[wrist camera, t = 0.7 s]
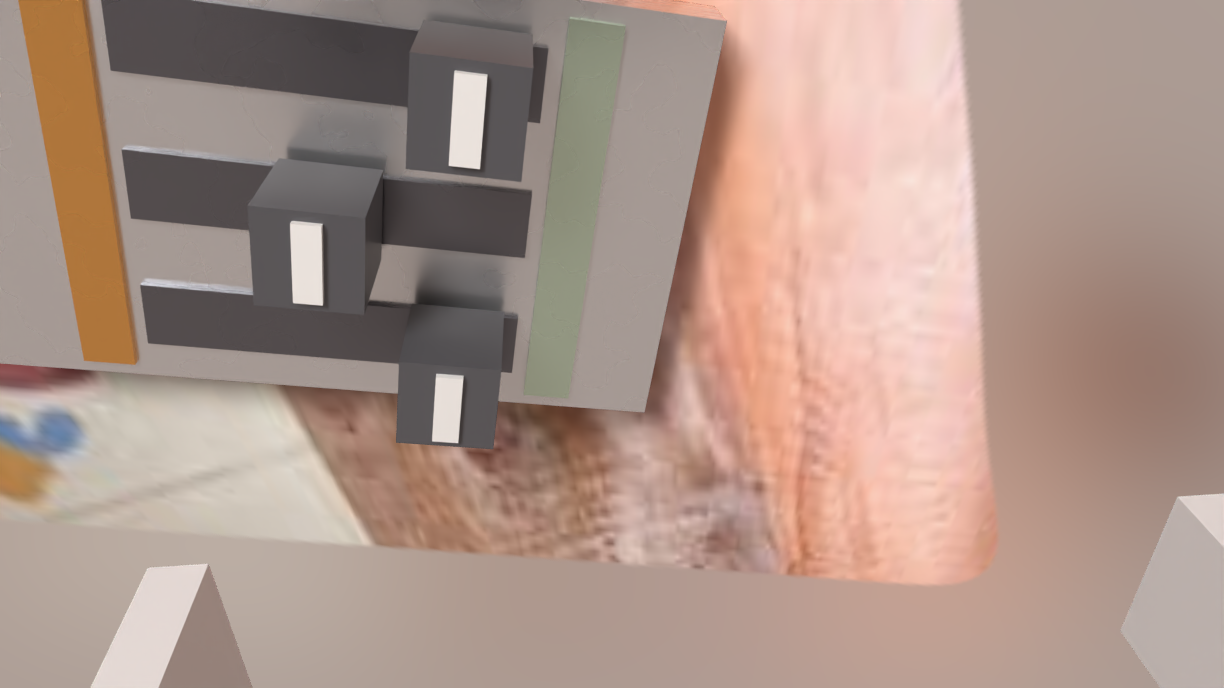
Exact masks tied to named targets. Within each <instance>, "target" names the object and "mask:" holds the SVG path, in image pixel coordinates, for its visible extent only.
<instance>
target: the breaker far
mask: <svg viewBox="0 0 1224 688" xmlns="http://www.w3.org/2000/svg"><path fill="white" fill-rule="evenodd" d="M503 324H504V312H500V311H489V310H478V309H467V308H456V307H445V306H434V305H423V304H412V305H411V310H410V314H409V319H408V323H407V328H406V332H405V337H404V341H403V346H402V350H401V355H400V359H399V374H398V404H397V433H396V443H410V444H425V445H439V446H454V447H469V448H483V449H493V446H494V437H495V427H496V418H497V408H498V399H499V389H500V380H501V370H502V347H503Z"/></svg>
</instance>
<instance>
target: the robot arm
mask: <svg viewBox="0 0 1224 688" xmlns="http://www.w3.org/2000/svg"><path fill="white" fill-rule="evenodd" d="M1120 631H1121V633H1122V634H1123V636H1124V637H1125V638H1126V640H1127V641H1128V643H1129V644H1130V646H1131V647H1132V649H1133V650H1134V651H1135V653H1136V654H1137V656H1138V657H1139V658H1140V660H1141V661H1142V663H1143V664H1144V665H1145V667H1146V669H1147V670H1148V671H1149V673H1150V674H1151V676H1152V677H1153V678H1154V680H1155V681H1156V683H1157V684H1158V686H1159V687H1160V688H1224V494H1212V495H1196V496H1182V497H1177V499H1176V501H1175V504H1174V506H1173V508H1172V511H1171V513H1170V515H1169V518H1168V520H1167V522H1166V525H1165V527H1164V529H1163V532H1162V534H1161V536H1160V539H1159V541H1158V544H1157V546H1156V548H1155V551H1154V553H1153V555H1152V558H1151V560H1150V563H1149V565H1148V567H1147V569H1146V572H1145V574H1144V576H1143V579H1142V581H1141V583H1140V586H1139V588H1138V590H1137V593H1136V595H1135V597H1134V600H1133V602H1132V605H1131V607H1130V609H1129V612H1128V614H1127V616H1126V619H1125V621H1124V623H1123V625H1122V628H1121V630H1120ZM90 688H252V685H251V682H250V679H249V677H248V674H247V671H246V668H245V665H244V662H243V660H242V657H241V654H240V651H239V649H238V646H237V643H236V640H235V637H234V634H233V631H232V629H231V626H230V623H229V620H228V617H227V615H226V612H225V609H224V606H223V603H222V600H221V598H220V595H219V592H218V589H217V586H216V583H215V581H214V578H213V575H212V572H211V569H210V567H209V564H197V565H182V566H168V567H153V568H147V570H146V573H145V575H144V577H143V579H142V581H141V583H140V585H139V587H138V589H137V591H136V593H135V595H134V598H133V600H132V602H131V604H130V606H129V608H128V610H127V612H126V614H125V616H124V618H123V621H122V623H121V625H120V627H119V629H118V631H117V633H116V635H115V637H114V639H113V641H112V644H111V646H110V648H109V650H108V652H107V654H106V656H105V658H104V660H103V663H102V664H101V667H100V669H99V671H98V673H97V675H96V677H95V679H94V681H93V683H92V685H91V687H90Z"/></svg>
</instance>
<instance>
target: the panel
mask: <svg viewBox="0 0 1224 688" xmlns="http://www.w3.org/2000/svg"><path fill="white" fill-rule="evenodd" d="M423 20H431V21H438V22H445V23H453V24H460V25H467V26H474V27H482V28H489V29H496V30H504V31H511V32H518V33H525V34H533V76H532V86H531V95H530V105H529V114H528V124H527V133H526V143H525V152H524V162H523V171H522V181H521V182H516V181H507V180H498V179H490V178H481V177H472V176H463V175H454V174H445V173H436V172H428V171H419V170H410V169H406V140H407V111H408V82H409V53H410V50H411V47H412V45H413V43H414V40H415V38H416V36H417V34H418V31H419V29H420V27H421V24H422V22H423ZM726 23H727V21H726V19H725V18H724V17H723V16H722V15H721V13H720V12H719V11H718V10H717V9H716V7H715V6H709V5H702V4H695V3H688V2H681V1H674V0H0V363H4V364H17V365H30V366H43V367H56V368H69V369H82V370H95V371H108V372H121V373H134V374H148V375H161V376H174V377H187V378H200V379H213V380H226V381H239V382H252V383H265V384H278V385H291V386H305V387H318V388H331V389H344V390H357V391H370V392H383V393H396V394H398V374H399V359H400V355H401V350H402V346H403V341H404V337H405V332H406V328H407V323H408V319H409V314H410V310H411V305H412V304H423V305H434V306H445V307H456V308H467V309H478V310H489V311H500V312H504V324H503V347H502V370H501V380H500V389H499V399H498V401H501V402H514V403H527V404H540V405H553V406H566V407H579V408H592V409H605V410H619V411H632V412H645V408H646V403H647V398H648V393H649V389H650V384H651V379H652V374H653V370H654V365H655V360H656V355H657V351H658V346H659V341H660V336H661V332H662V327H663V322H664V317H665V313H666V308H667V303H668V298H669V294H670V289H671V284H672V279H673V275H674V270H675V265H676V260H677V256H678V251H679V246H680V242H681V237H682V232H683V227H684V223H685V218H686V213H687V208H688V204H689V199H690V194H691V189H692V185H693V180H694V175H695V170H696V166H697V161H698V156H699V151H700V147H701V142H702V137H703V132H704V128H705V123H706V118H707V113H708V109H709V104H710V99H711V94H712V90H713V85H714V80H715V75H716V71H717V66H718V61H719V56H720V52H721V47H722V42H723V37H724V33H725V28H726ZM279 158H282V159H291V160H300V161H308V162H317V163H326V164H335V165H344V166H353V167H362V168H371V169H380V170H383V204H382V253H381V262H380V266H379V269H378V272H377V275H376V279H375V282H374V285H373V288H372V292H371V295H370V298H369V302H368V305H367V308H366V311H365V315H359V314H348V313H336V312H325V311H314V310H302V309H291V308H280V307H269V306H257V305H254V300H253V284H252V268H251V253H250V237H249V221H248V204H249V203H250V201H251V200H252V198H253V197H254V195H255V194H256V192H257V191H258V189H259V188H260V186H261V184H262V183H263V181H264V180H265V178H266V177H267V175H268V174H269V172H270V171H271V169H272V168H273V166H274V165H275V163H276V162H277V160H278V159H279Z"/></svg>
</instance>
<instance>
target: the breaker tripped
mask: <svg viewBox="0 0 1224 688" xmlns="http://www.w3.org/2000/svg"><path fill="white" fill-rule="evenodd" d="M382 204H383V170H380V169H371V168H362V167H353V166H344V165H335V164H326V163H317V162H308V161H300V160H291V159H282V158H279V159H278V160H277V162H276V163H275V165H274V166H273V168H272V169H271V171H270V172H269V174H268V175H267V177H266V178H265V180H264V181H263V183H262V184H261V186H260V188H259V189H258V191H257V192H256V194H255V195H254V197H253V198H252V200H251V201H250V203H249V204H248V221H249V237H250V253H251V268H252V284H253V300H254V305H257V306H269V307H280V308H291V309H302V310H314V311H325V312H336V313H348V314H359V315H365V311H366V308H367V305H368V302H369V298H370V295H371V292H372V288H373V285H374V282H375V279H376V275H377V272H378V269H379V266H380V262H381V253H382Z"/></svg>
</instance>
